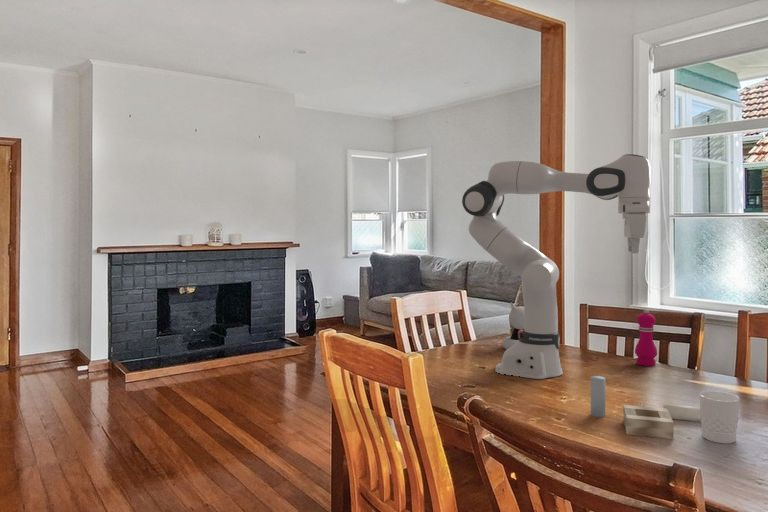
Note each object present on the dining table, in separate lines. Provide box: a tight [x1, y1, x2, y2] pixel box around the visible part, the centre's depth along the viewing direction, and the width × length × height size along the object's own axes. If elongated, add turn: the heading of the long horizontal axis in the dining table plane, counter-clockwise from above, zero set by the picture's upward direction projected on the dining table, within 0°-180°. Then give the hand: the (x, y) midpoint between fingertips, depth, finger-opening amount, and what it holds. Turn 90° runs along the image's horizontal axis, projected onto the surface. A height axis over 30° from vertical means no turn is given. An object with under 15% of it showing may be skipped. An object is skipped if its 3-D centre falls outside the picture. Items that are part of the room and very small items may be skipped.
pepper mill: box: [634, 308, 658, 367], centre depth 192 cm, size 7×7×20 cm
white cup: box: [699, 390, 740, 444], centre depth 125 cm, size 8×8×10 cm
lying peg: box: [662, 403, 701, 423], centre depth 137 cm, size 10×4×4 cm, turn 70°
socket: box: [622, 404, 675, 440], centre depth 131 cm, size 10×10×4 cm
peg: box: [590, 375, 606, 418], centre depth 141 cm, size 4×4×10 cm
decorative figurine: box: [501, 301, 524, 351], centre depth 218 cm, size 15×15×20 cm
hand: (633, 252), depth 165 cm, fingers open, 8 cm apart
